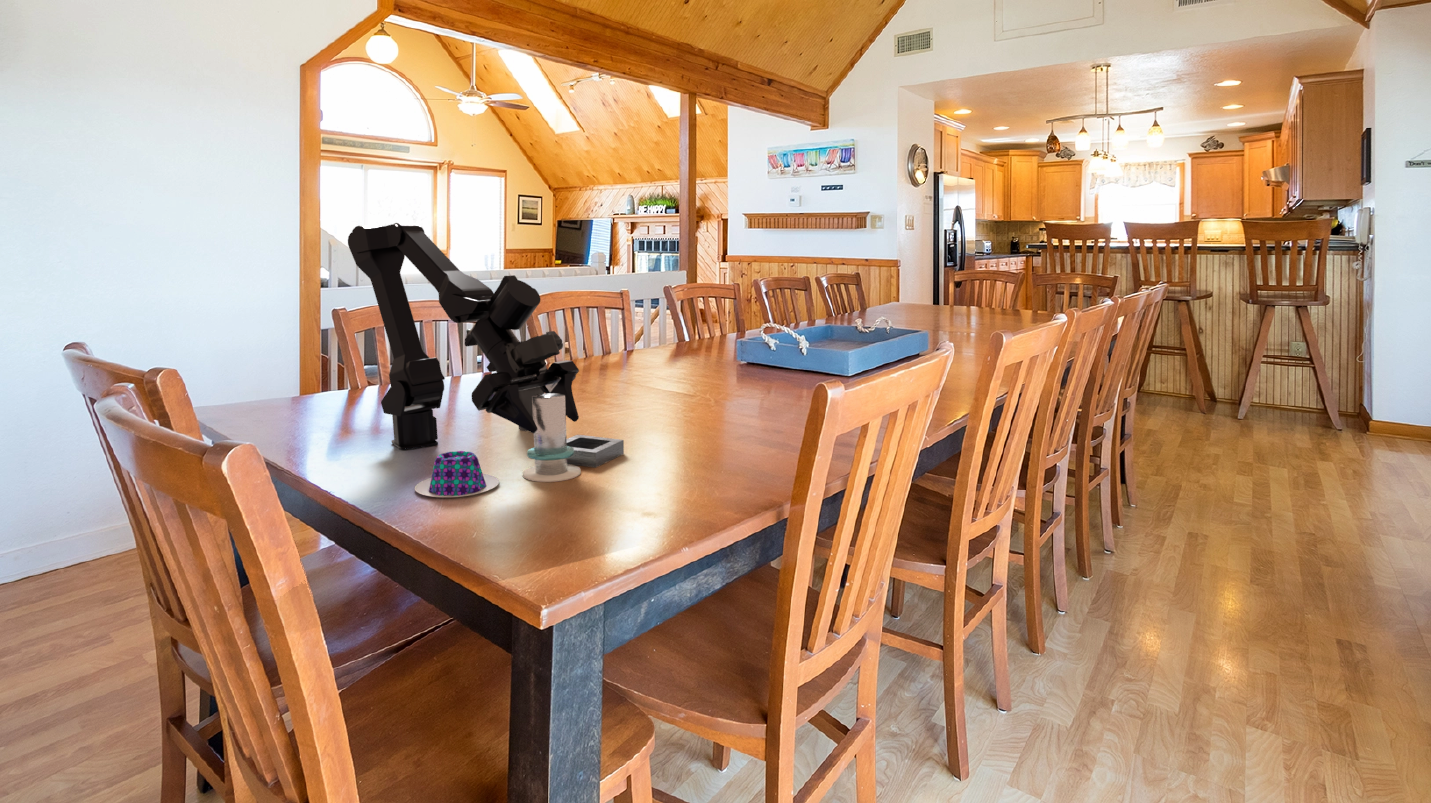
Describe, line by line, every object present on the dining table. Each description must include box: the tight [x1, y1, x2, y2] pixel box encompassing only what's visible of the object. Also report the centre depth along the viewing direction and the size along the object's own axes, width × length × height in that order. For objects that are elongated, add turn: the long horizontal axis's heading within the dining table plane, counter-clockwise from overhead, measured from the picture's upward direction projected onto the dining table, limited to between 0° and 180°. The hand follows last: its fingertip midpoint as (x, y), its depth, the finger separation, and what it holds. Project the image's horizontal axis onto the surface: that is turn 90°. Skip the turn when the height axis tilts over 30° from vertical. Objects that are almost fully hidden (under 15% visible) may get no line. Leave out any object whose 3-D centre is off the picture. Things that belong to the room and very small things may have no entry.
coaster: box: [522, 464, 582, 483], centre depth 124 cm, size 9×9×1 cm
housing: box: [567, 434, 625, 468], centre depth 133 cm, size 9×9×2 cm
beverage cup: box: [518, 327, 548, 432], centre depth 152 cm, size 7×7×20 cm
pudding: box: [414, 450, 500, 498], centre depth 117 cm, size 12×12×5 cm
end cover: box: [526, 393, 574, 475], centre depth 123 cm, size 7×7×12 cm
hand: (556, 425), depth 122 cm, fingers open, 9 cm apart
